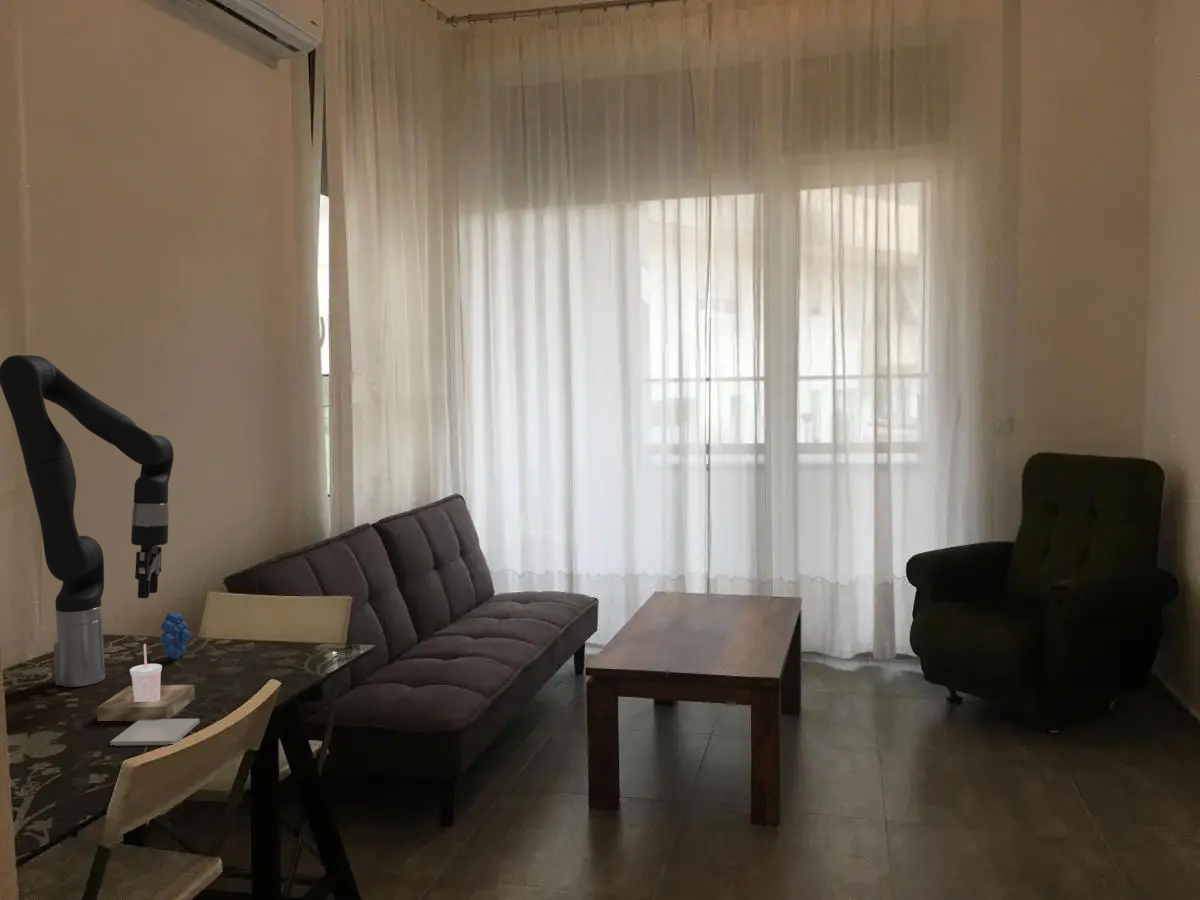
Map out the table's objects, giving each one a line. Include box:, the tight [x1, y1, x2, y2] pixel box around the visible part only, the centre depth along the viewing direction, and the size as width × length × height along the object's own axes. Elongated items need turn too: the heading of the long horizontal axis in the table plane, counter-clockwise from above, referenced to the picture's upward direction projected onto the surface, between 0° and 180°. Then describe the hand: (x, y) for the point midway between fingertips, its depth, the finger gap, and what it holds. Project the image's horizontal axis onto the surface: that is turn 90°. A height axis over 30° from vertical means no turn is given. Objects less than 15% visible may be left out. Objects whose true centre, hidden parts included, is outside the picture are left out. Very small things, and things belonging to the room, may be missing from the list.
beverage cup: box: [129, 643, 163, 702], centre depth 206 cm, size 6×6×14 cm
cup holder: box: [96, 684, 196, 723], centre depth 207 cm, size 14×14×3 cm
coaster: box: [109, 718, 201, 747], centre depth 193 cm, size 12×12×1 cm
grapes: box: [159, 612, 193, 660], centre depth 243 cm, size 12×7×12 cm, turn 179°
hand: (147, 595), depth 223 cm, fingers open, 8 cm apart
